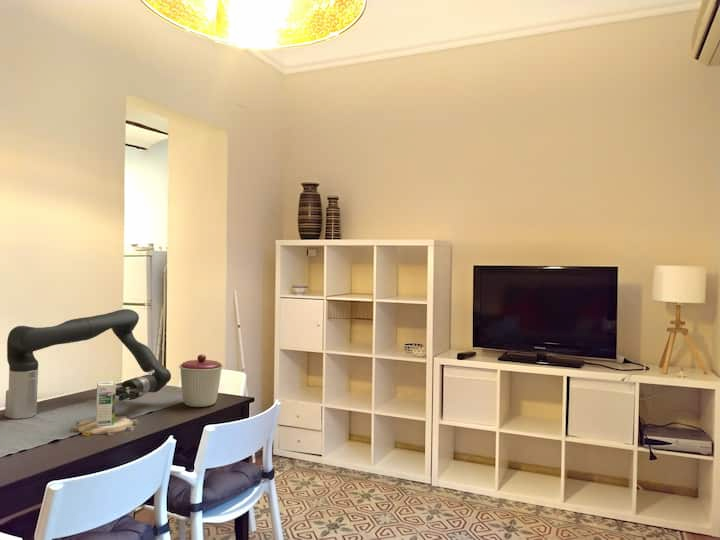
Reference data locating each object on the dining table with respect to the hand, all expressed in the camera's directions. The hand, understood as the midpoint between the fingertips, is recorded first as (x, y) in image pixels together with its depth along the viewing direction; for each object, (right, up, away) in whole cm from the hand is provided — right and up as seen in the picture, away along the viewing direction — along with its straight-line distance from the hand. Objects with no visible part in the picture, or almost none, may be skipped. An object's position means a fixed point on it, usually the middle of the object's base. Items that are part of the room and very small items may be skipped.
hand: (109, 397), depth 198 cm
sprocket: (-1, -10, -1) cm, 10 cm away
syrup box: (-1, -9, -2) cm, 9 cm away
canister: (+22, -11, +35) cm, 43 cm away
